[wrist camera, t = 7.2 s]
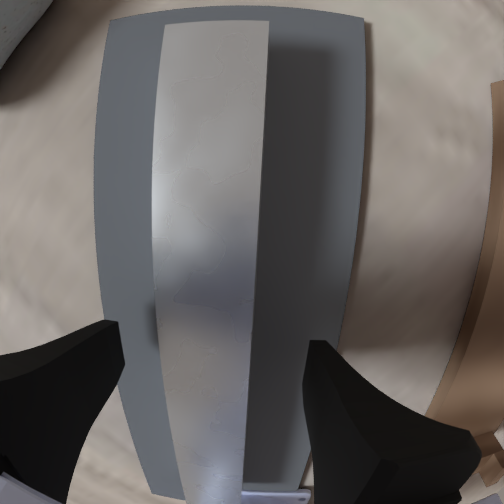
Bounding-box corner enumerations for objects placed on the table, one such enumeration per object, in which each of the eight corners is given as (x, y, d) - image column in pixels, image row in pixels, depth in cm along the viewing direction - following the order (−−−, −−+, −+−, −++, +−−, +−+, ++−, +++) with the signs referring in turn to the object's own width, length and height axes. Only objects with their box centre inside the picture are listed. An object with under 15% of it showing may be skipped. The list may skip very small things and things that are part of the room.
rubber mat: (290, 504, 16) (290, 508, 16) (153, 489, 17) (152, 493, 16) (361, 22, 9) (363, 18, 9) (114, 23, 9) (110, 20, 9)
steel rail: (242, 482, 15) (239, 514, 13) (194, 477, 15) (187, 507, 13) (269, 50, 9) (268, 20, 7) (185, 51, 9) (165, 24, 7)
